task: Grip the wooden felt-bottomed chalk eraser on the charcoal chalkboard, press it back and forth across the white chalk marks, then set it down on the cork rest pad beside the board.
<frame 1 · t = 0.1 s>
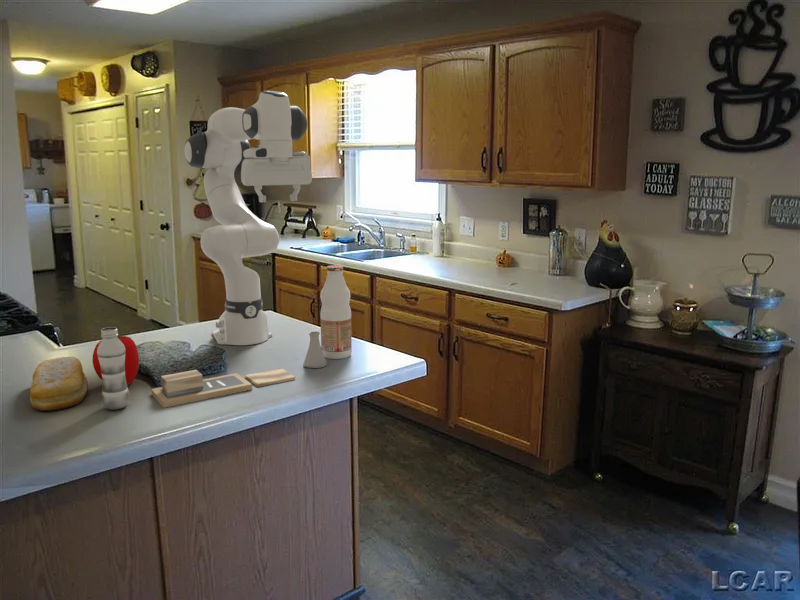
hand: (278, 201, 186), 48 cm above the counter, tool pointing down, fingers open, 8 cm apart
bread: (60, 395, 171), on the counter
fruit juice: (336, 355, 205), on the counter
flask: (315, 365, 195), on the counter
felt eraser: (183, 390, 170), point 2 cm above the counter, touching chalkboard
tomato: (118, 385, 178), on the counter
plastic bottle: (116, 408, 162), on the counter
rest pad: (270, 378, 183), on the counter
chalkboard: (202, 392, 173), on the counter
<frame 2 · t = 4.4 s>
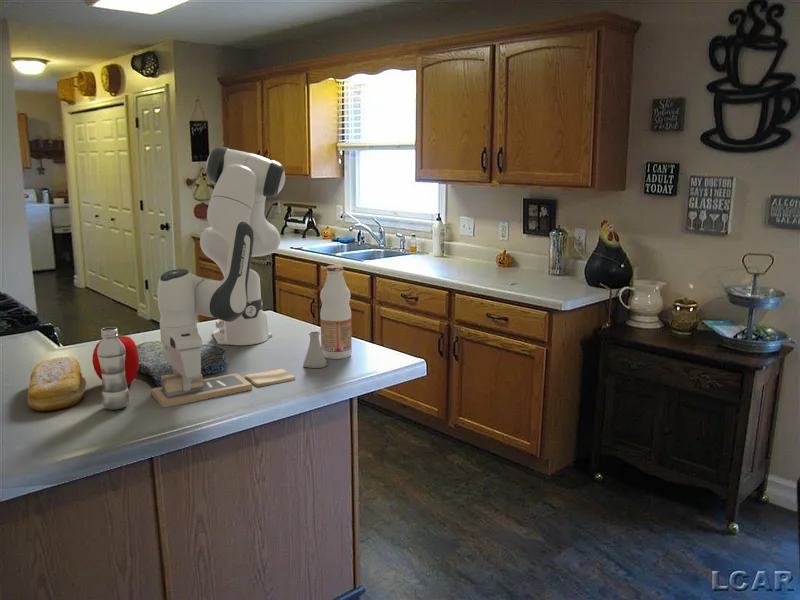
hand: (182, 386, 170), 3 cm above the counter, tool pointing down, fingers closed on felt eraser, 5 cm apart
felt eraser: (183, 390, 170), point 2 cm above the counter, touching chalkboard, gripper
everything else where it was.
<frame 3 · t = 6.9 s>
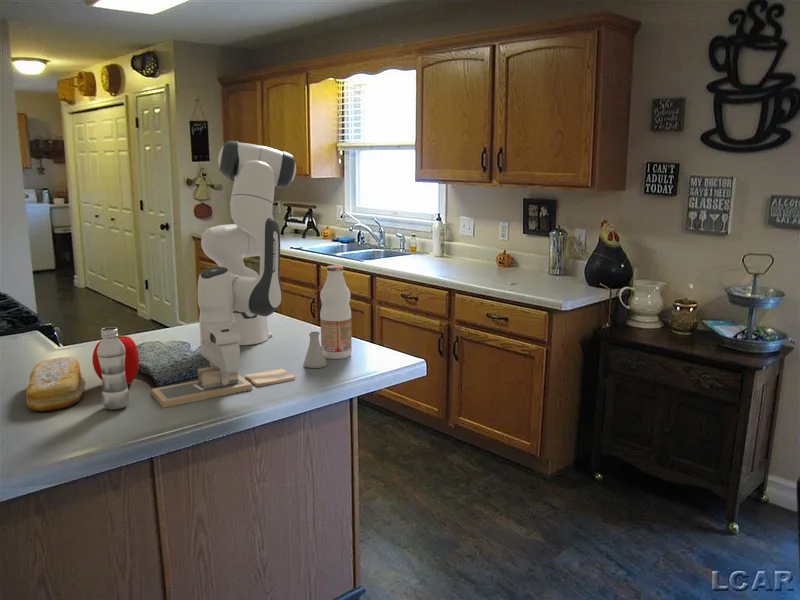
hand: (220, 380, 175), 2 cm above the counter, tool pointing down, fingers closed on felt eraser, 5 cm apart
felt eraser: (218, 382, 175), point 2 cm above the counter, touching gripper
everything else where it was.
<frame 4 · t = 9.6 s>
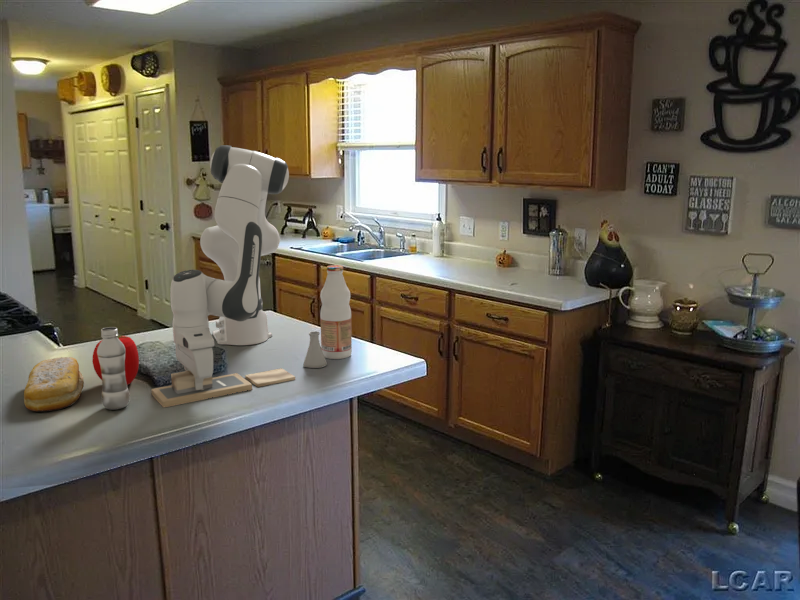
hand: (194, 385, 172), 2 cm above the counter, tool pointing down, fingers closed on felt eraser, 5 cm apart
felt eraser: (192, 387, 171), point 2 cm above the counter, touching gripper
everything else where it was.
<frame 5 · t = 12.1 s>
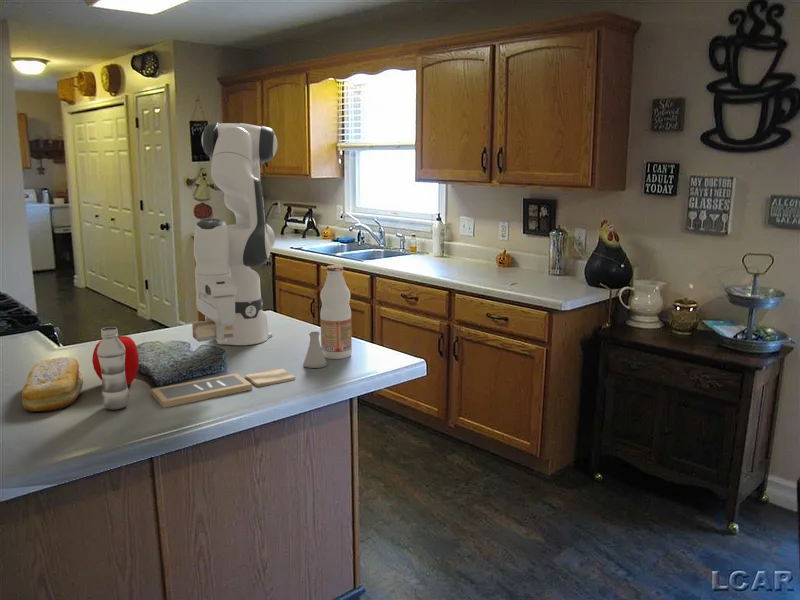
hand: (215, 334, 173), 15 cm above the counter, tool pointing down, fingers closed on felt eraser, 5 cm apart
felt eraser: (213, 337, 172), point 14 cm above the counter, touching gripper
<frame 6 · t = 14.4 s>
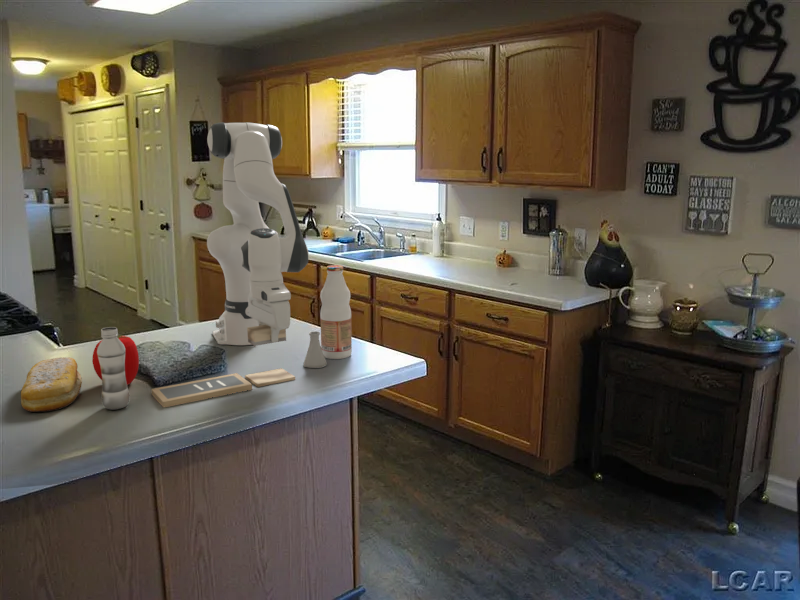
hand: (269, 339, 181), 11 cm above the counter, tool pointing down, fingers closed on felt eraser, 5 cm apart
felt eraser: (267, 341, 180), point 11 cm above the counter, touching gripper
when the fingers open (3 cm above the counter, at t = 16.6 s): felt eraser drops 2 cm, resting on rest pad.
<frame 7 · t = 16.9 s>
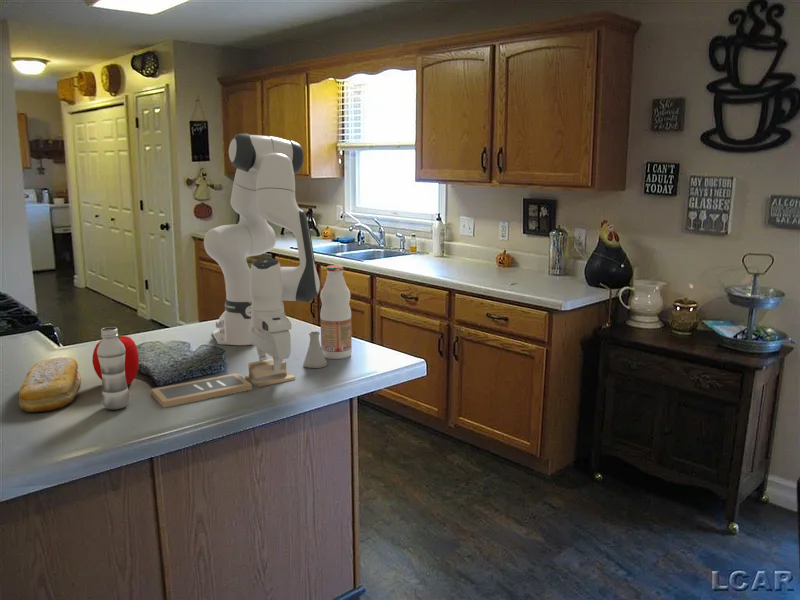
hand: (269, 366, 183), 3 cm above the counter, tool pointing down, fingers open, 8 cm apart
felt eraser: (267, 376, 183), point 1 cm above the counter, touching rest pad
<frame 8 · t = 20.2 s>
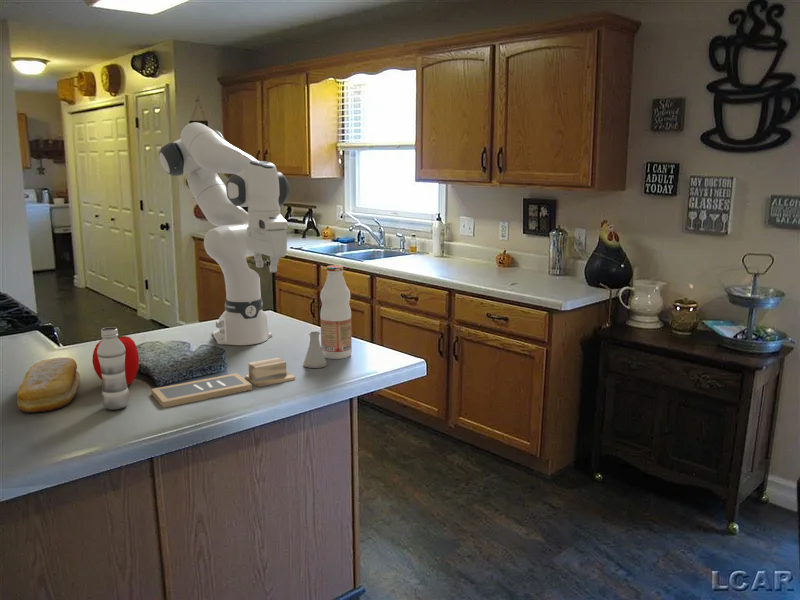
hand: (266, 269, 186), 29 cm above the counter, tool pointing down, fingers open, 8 cm apart
at the end: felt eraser 0.6 cm off-centre on the rest pad, point 0.8 cm above the rest pad's base; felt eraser tilted 0°; the gripper is holding nothing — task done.
